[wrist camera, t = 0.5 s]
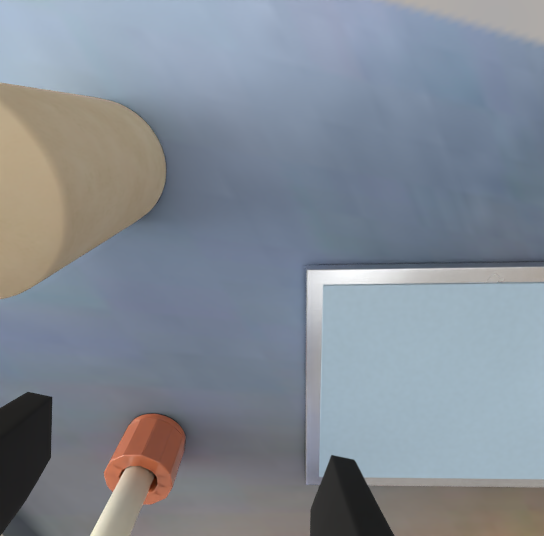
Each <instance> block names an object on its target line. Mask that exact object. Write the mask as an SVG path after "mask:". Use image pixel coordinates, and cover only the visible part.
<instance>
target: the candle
mask: <svg viewBox="0 0 544 536" xmlns="http://www.w3.org/2000/svg"><path fill="white" fill-rule="evenodd" d="M165 180H166V163H165V157H164V153H163V150H162V147H161V145H160V142H159V140H158V138H157V137H156V135H155V133H154V132H153V130H152V129H151V128H150V126H149V125H148V124H147V123H146V122H145V121H144V120H143V119H142V118H141V117H140V116H139V115H137V114H136V113H135V112H133V111H132V110H130V109H129V108H127V107H125V106H123V105H121V104H119V103H116V102H113V101H110V100H106V99H101V98H96V97H90V96H84V95H77V94H71V93H64V92H58V91H51V90H45V89H38V88H32V87H25V86H19V85H12V84H6V83H0V299H3V298H8V297H11V296H14V295H17V294H20V293H22V292H24V291H26V290H28V289H30V288H31V287H33V286H35V285H36V284H38V283H39V282H41V281H43V280H44V279H46V278H47V277H49V276H51V275H52V274H54V273H55V272H57V271H58V270H60V269H62V268H63V267H65V266H66V265H68V264H70V263H71V262H73V261H74V260H76V259H78V258H79V257H81V256H82V255H84V254H85V253H87V252H89V251H90V250H92V249H93V248H95V247H97V246H98V245H100V244H101V243H103V242H104V241H106V240H108V239H109V238H111V237H112V236H114V235H116V234H117V233H119V232H120V231H122V230H124V229H125V228H127V227H128V226H130V225H131V224H133V223H135V222H136V221H137V220H139V219H140V218H142V217H143V216H145V215H146V214H147V213H148V212H149V211H150V210H151V209H152V208H153V207H154V206H155V204H156V203H157V201H158V200H159V198H160V196H161V194H162V191H163V189H164V185H165Z"/></svg>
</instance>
